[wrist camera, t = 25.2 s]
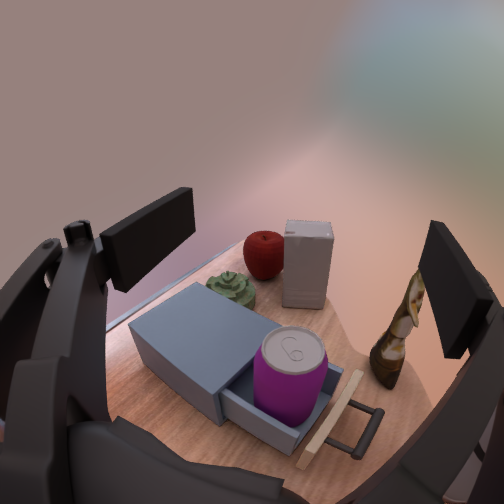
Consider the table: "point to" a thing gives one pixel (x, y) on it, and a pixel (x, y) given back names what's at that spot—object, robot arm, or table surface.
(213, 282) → the decorative artifact
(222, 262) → the table surface
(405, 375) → the table surface
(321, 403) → the drawer
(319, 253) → the cosmetic box
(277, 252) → the apple
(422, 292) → the figurine
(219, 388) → the cabinet
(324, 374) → the beverage can
